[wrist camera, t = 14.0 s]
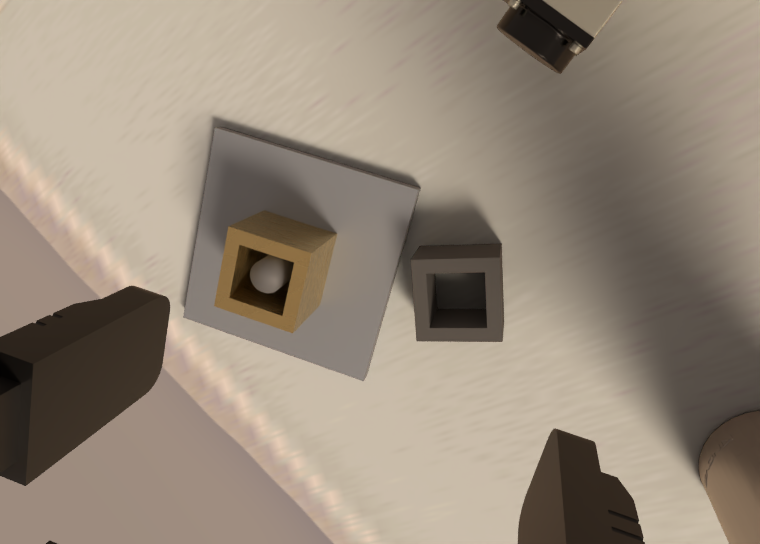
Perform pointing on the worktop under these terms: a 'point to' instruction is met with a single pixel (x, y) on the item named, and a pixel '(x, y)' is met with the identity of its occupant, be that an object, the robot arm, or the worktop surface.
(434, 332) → the grey hollow square block
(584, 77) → the worktop surface
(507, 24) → the pneumatic valve
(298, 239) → the brass collar
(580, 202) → the worktop surface
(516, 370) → the worktop surface
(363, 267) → the post block
